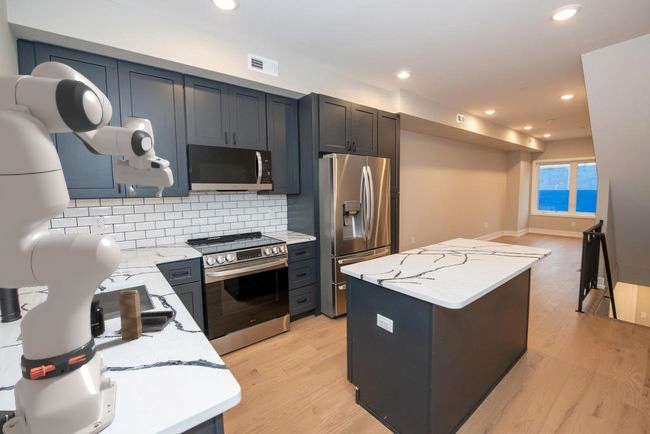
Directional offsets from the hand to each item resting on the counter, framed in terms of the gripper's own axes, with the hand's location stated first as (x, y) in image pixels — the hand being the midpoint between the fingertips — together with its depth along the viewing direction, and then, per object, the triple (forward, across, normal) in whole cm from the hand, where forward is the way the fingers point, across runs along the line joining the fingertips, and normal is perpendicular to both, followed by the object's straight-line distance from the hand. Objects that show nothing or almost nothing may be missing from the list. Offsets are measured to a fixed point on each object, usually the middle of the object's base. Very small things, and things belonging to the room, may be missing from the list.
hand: (146, 195), depth 114 cm
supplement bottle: (+42, -8, -31) cm, 52 cm away
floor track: (+41, +8, -26) cm, 49 cm away
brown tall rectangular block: (+38, +7, -35) cm, 52 cm away
